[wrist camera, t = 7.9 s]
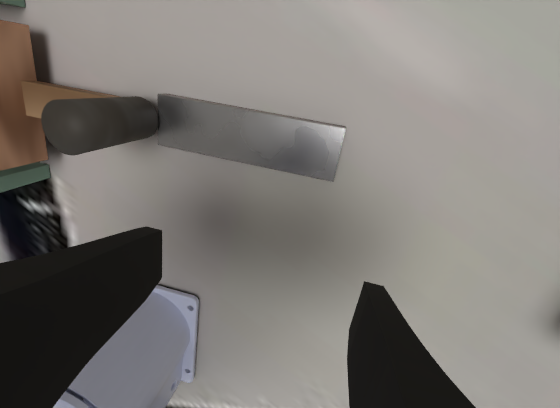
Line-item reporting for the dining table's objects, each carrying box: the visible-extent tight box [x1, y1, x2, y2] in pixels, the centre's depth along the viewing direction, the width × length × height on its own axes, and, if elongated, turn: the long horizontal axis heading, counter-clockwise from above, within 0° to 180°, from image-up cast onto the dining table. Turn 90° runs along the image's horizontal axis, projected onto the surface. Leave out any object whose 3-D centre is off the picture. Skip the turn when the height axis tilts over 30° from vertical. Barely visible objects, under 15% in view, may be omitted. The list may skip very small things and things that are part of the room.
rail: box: [158, 94, 346, 181], centre depth 18 cm, size 3×11×1 cm, turn 81°
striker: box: [0, 20, 158, 171], centre depth 16 cm, size 8×10×5 cm
